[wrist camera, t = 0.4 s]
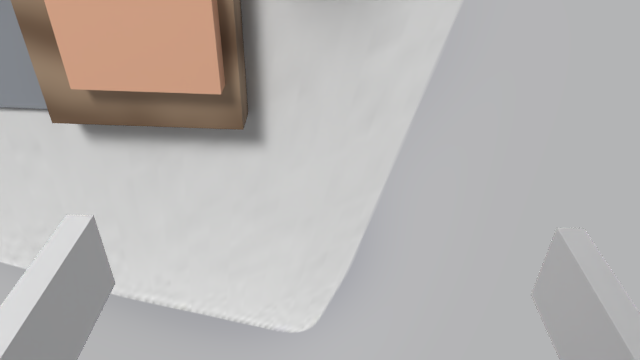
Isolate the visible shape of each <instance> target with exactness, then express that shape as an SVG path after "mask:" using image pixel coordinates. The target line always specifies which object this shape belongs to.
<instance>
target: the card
mask: <svg viewBox="0 0 640 360" xmlns="http://www.w3.org/2000/svg"><path fill="white" fill-rule="evenodd" d="M44 2H45V5H46V9H47V12H48V15H49V18H50V22H51V25H52V28H53V32H54V35H55V38H56V42H57V45H58V48H59V52H60V55H61V58H62V62H63V65H64V68H65V71H66V75H67V78H68V81H69V85H70V88H71V89H78V90H107V91H136V92H164V93H193V94H222V91H223V89H224V87H225V77H224V67H223V56H222V46H221V35H220V25H219V15H218V4H217V0H44Z"/></svg>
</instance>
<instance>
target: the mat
mask: <svg viewBox="0 0 640 360" xmlns="http://www.w3.org/2000/svg"><path fill="white" fill-rule="evenodd" d="M0 107H9V108H38V109H47V106H46V103H45V100H44V97H43V94H42V91H41V88H40V85H39V82H38V79H37V76H36V74H35V71H34V68H33V65H32V62H31V59H30V56H29V53H28V50H27V47H26V44H25V41H24V38H23V35H22V33H21V30H20V27H19V24H18V21H17V18H16V15H15V12H14V9H13V6H12V3H11V0H0Z"/></svg>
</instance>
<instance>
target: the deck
mask: <svg viewBox="0 0 640 360" xmlns="http://www.w3.org/2000/svg"><path fill="white" fill-rule="evenodd" d="M11 3H12V6H13V9H14V12H15V15H16V18H17V21H18V24H19V27H20V30H21V33H22V35H23V38H24V41H25V44H26V47H27V50H28V53H29V56H30V59H31V62H32V65H33V68H34V71H35V74H36V76H37V79H38V82H39V85H40V88H41V91H42V94H43V97H44V100H45V103H46V106H47V109H48V112H49V114H50V117H51V120H52V123H70V124H99V125H127V126H156V127H184V128H213V129H242V130H243V128H244V125H245V122H246V119H247V115H248V105H247V90H246V76H245V61H244V46H243V32H242V17H241V3H240V0H217V4H218V15H219V25H220V35H221V46H222V56H223V67H224V77H225V87H224V89H223V91H222V94H193V93H164V92H136V91H107V90H78V89H71V88H70V85H69V81H68V78H67V75H66V71H65V68H64V65H63V62H62V58H61V55H60V52H59V48H58V45H57V42H56V38H55V35H54V32H53V28H52V25H51V22H50V18H49V15H48V12H47V9H46V5H45V2H44V0H11Z"/></svg>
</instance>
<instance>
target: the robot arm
mask: <svg viewBox="0 0 640 360" xmlns="http://www.w3.org/2000/svg"><path fill="white" fill-rule="evenodd" d="M114 285H115V280H114V277H113V274H112V271H111V268H110V265H109V262H108V259H107V256H106V252H105V249H104V246H103V243H102V240H101V237H100V234H99V231H98V228H97V225H96V221H95V218H94V215H66V216H65V218H64V219H63V220H62V222H61V223H60V224H59V226H58V227H57V229H56V230H55V231H54V233H53V234H52V235H51V237H50V238H49V240H48V241H47V242H46V244H45V245H44V246H43V248H42V249H41V251H40V252H39V253H38V255H37V256H36V258H35V259H34V260H33V262H32V263H31V264H30V266H29V267H28V269H27V270H26V271H25V273H24V274H23V275H22V277H21V278H20V280H19V281H18V282H17V284H16V285H15V286H14V288H13V289H12V291H11V292H10V293H9V295H8V296H7V297H6V299H5V300H4V302H3V303H2V304H1V306H0V360H77V359H78V357H79V355H80V353H81V351H82V349H83V347H84V345H85V343H86V341H87V339H88V337H89V335H90V333H91V331H92V329H93V327H94V325H95V323H96V321H97V319H98V317H99V315H100V313H101V311H102V309H103V307H104V305H105V303H106V301H107V299H108V297H109V295H110V293H111V291H112V289H113V287H114ZM531 296H532V298H533V301H534V303H535V305H536V307H537V310H538V312H539V314H540V316H541V319H542V321H543V323H544V325H545V328H546V330H547V332H548V334H549V337H550V339H551V341H552V344H553V346H554V348H555V350H556V353H557V355H558V357H559V359H560V360H640V312H639V311H638V309H637V308H636V306H635V304H634V303H633V301H632V300H631V298H630V297H629V295H628V294H627V292H626V291H625V289H624V288H623V286H622V285H621V283H620V282H619V280H618V279H617V277H616V276H615V274H614V273H613V271H612V270H611V268H610V267H609V265H608V264H607V262H606V261H605V259H604V258H603V256H602V255H601V253H600V252H599V250H598V249H597V247H596V246H595V244H594V242H593V241H592V239H591V238H590V237H589V235H588V233H587V232H586V230H585V229H584V228H557V229H556V231H555V233H554V236H553V239H552V241H551V244H550V246H549V249H548V252H547V255H546V257H545V259H544V262H543V264H542V267H541V270H540V272H539V275H538V277H537V280H536V283H535V285H534V288H533V290H532V293H531Z"/></svg>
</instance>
